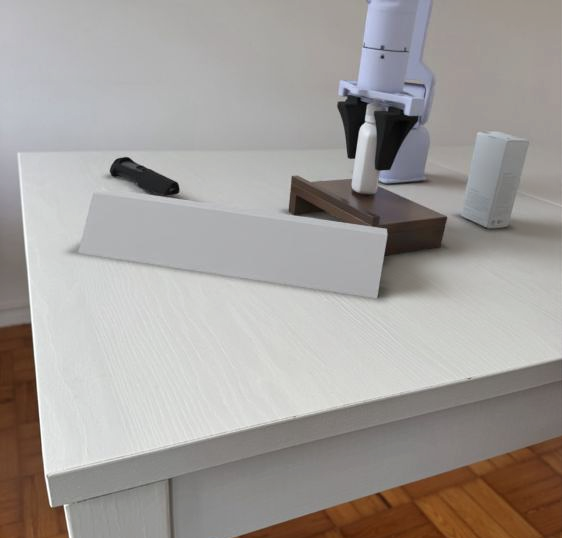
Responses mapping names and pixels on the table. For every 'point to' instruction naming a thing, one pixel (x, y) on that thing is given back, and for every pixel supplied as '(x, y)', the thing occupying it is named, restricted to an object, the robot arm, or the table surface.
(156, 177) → the electric trimmer
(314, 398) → the table surface
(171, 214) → the molding piece
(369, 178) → the eye dropper bottle
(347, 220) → the shelf
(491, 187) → the cosmetic box
